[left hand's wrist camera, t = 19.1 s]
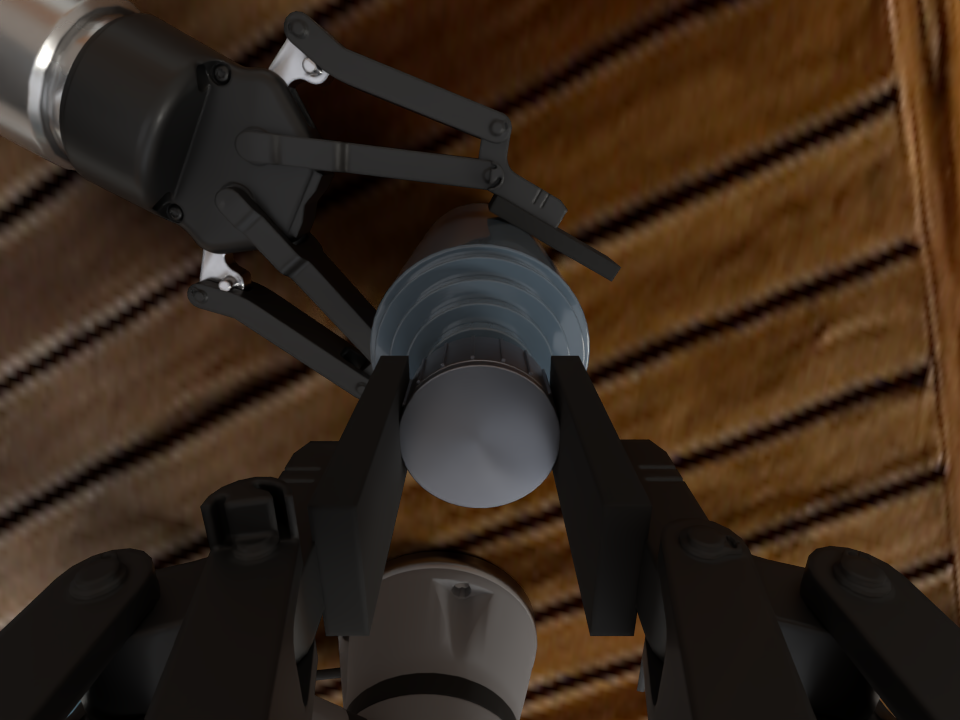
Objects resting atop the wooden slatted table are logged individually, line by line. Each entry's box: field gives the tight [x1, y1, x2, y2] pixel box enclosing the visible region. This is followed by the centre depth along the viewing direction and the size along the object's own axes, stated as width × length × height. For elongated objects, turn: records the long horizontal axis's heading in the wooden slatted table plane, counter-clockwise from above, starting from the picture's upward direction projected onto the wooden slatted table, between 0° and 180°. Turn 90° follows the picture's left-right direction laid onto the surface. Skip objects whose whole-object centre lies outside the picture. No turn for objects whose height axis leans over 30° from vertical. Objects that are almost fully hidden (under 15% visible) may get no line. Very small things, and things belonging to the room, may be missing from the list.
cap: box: [399, 335, 560, 508], centre depth 14 cm, size 4×4×2 cm
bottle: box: [370, 203, 590, 384], centre depth 23 cm, size 8×8×20 cm
